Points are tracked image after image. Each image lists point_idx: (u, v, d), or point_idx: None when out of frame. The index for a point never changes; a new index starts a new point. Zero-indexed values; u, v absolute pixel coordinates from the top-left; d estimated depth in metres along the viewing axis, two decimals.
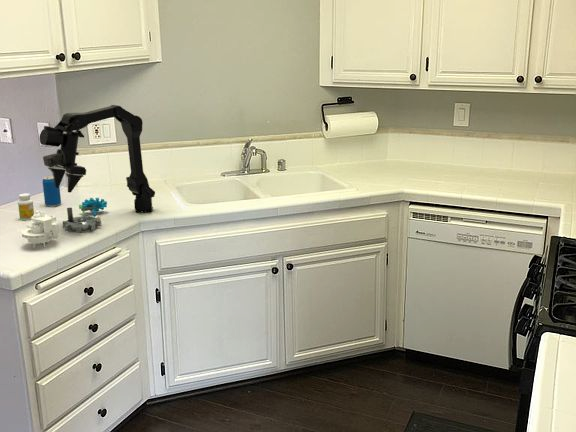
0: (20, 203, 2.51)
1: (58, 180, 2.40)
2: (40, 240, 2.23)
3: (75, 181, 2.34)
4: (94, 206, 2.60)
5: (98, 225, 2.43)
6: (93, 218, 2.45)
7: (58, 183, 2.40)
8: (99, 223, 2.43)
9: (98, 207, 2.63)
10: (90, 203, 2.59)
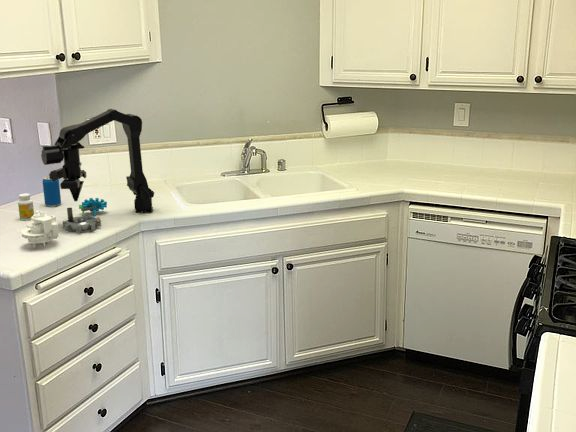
0: (20, 203, 2.51)
1: None
2: (40, 240, 2.23)
3: (76, 190, 2.45)
4: (94, 206, 2.60)
5: (98, 225, 2.43)
6: (93, 218, 2.45)
7: None
8: (99, 223, 2.43)
9: (98, 207, 2.63)
10: (90, 203, 2.59)
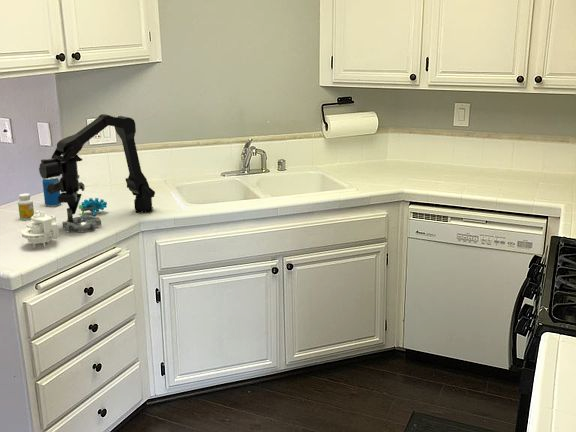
0: (20, 203, 2.51)
1: None
2: (40, 240, 2.23)
3: (74, 204, 2.41)
4: (94, 206, 2.60)
5: (99, 224, 2.44)
6: (92, 218, 2.46)
7: None
8: (100, 222, 2.44)
9: (98, 207, 2.63)
10: (90, 203, 2.59)
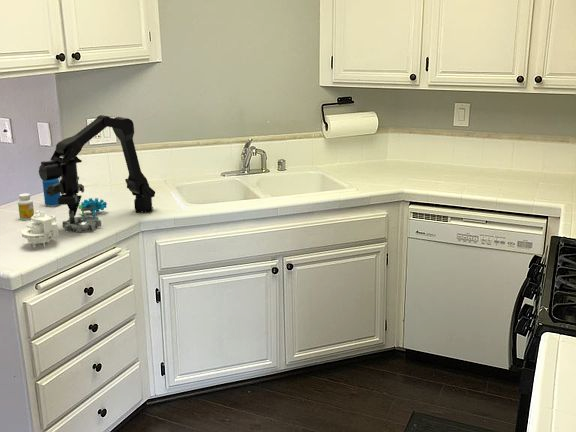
0: (20, 203, 2.51)
1: None
2: (40, 240, 2.23)
3: (74, 206, 2.39)
4: (93, 206, 2.60)
5: None
6: (86, 217, 2.47)
7: None
8: (97, 219, 2.48)
9: (98, 207, 2.62)
10: (89, 203, 2.59)
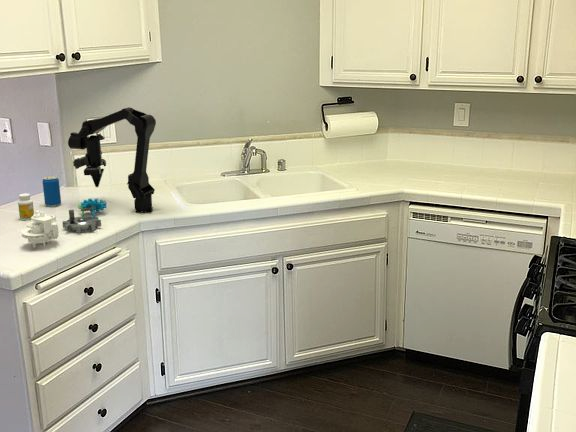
0: (20, 203, 2.51)
1: None
2: (40, 240, 2.23)
3: (98, 177, 2.68)
4: (93, 207, 2.59)
5: None
6: (86, 217, 2.47)
7: None
8: (97, 219, 2.48)
9: (98, 208, 2.62)
10: (89, 203, 2.58)
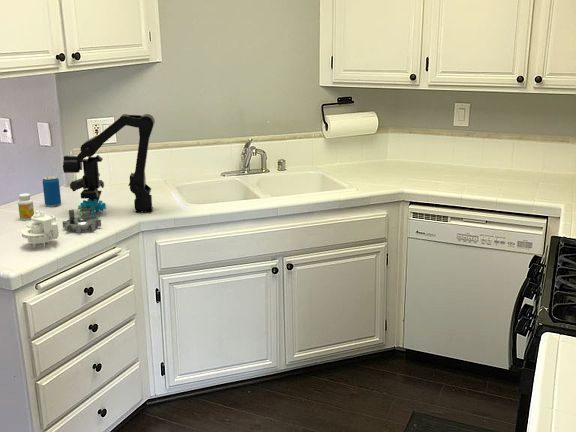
0: (20, 203, 2.51)
1: None
2: (40, 240, 2.23)
3: None
4: (92, 207, 2.58)
5: None
6: (86, 217, 2.47)
7: None
8: (97, 219, 2.48)
9: (97, 208, 2.61)
10: (88, 204, 2.58)
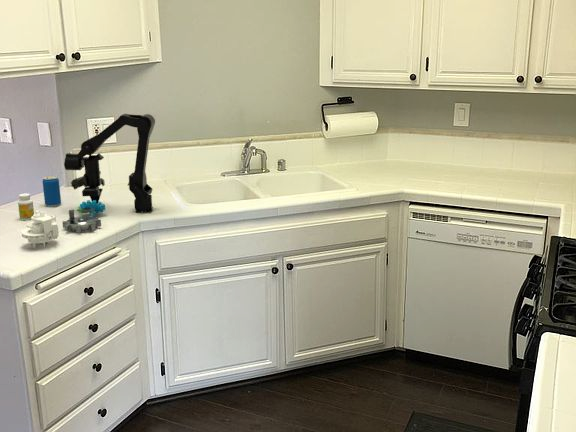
0: (20, 203, 2.51)
1: None
2: (40, 240, 2.23)
3: (96, 197, 2.64)
4: (92, 208, 2.57)
5: None
6: (86, 217, 2.47)
7: None
8: (97, 219, 2.48)
9: (97, 210, 2.60)
10: (88, 205, 2.56)
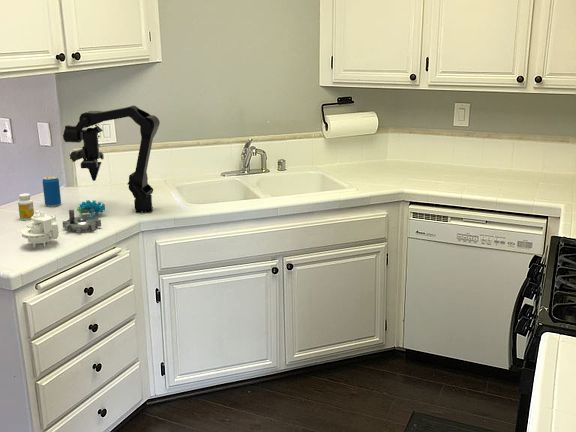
0: (20, 203, 2.51)
1: None
2: (40, 240, 2.23)
3: (95, 170, 2.63)
4: (91, 209, 2.57)
5: None
6: (86, 217, 2.47)
7: None
8: (97, 219, 2.48)
9: (97, 210, 2.59)
10: (87, 205, 2.56)
